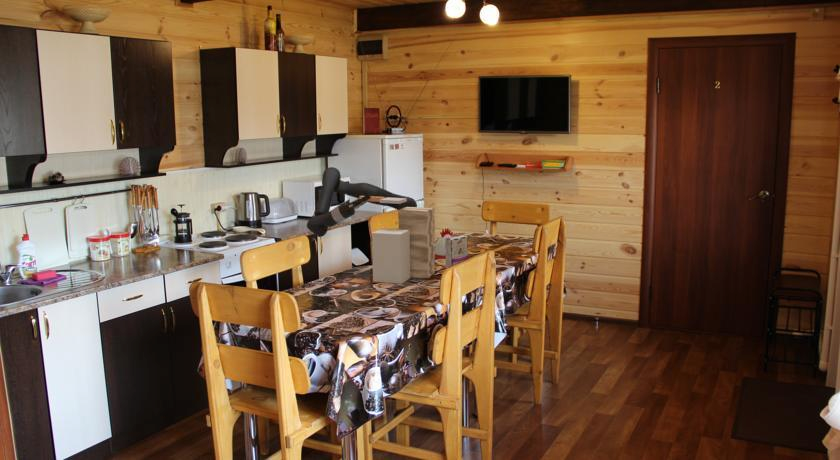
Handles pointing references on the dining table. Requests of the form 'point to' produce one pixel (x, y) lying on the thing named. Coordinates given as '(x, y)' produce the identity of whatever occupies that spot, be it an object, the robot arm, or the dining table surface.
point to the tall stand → (420, 239)
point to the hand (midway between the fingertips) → (370, 195)
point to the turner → (386, 199)
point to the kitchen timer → (442, 244)
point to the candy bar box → (456, 250)
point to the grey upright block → (391, 255)
